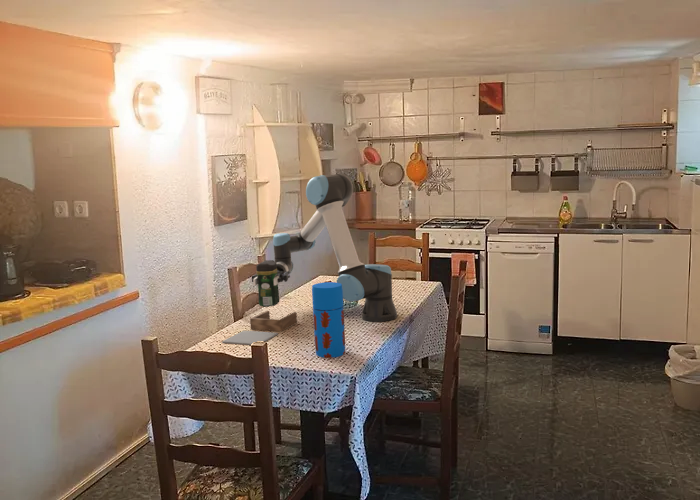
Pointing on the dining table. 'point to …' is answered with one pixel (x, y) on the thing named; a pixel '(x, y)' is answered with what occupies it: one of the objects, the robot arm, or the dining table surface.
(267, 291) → the coffee jar
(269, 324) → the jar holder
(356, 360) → the dining table surface
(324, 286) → the thermos
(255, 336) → the slate mat
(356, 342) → the dining table surface
